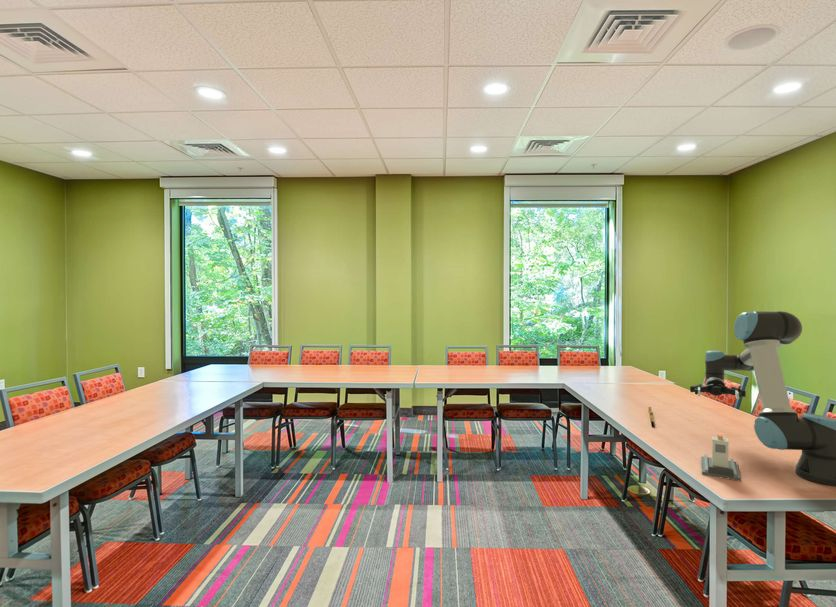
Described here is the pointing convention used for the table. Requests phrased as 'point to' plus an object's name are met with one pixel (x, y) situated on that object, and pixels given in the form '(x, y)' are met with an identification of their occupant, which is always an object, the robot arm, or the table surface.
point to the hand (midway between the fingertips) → (718, 394)
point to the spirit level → (651, 417)
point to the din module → (720, 451)
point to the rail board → (720, 469)
